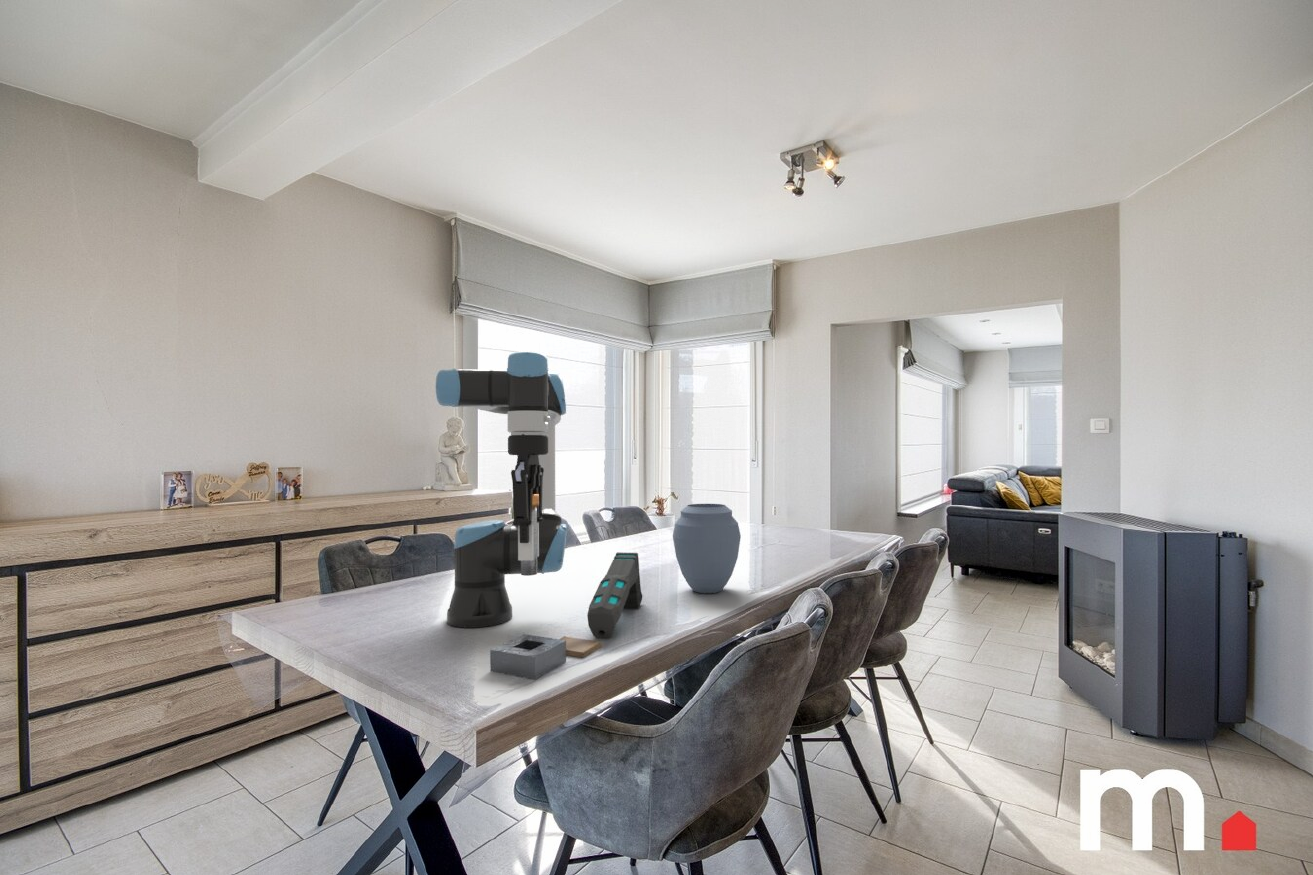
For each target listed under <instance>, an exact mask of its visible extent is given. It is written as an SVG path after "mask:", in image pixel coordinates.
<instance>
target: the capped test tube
mask: <svg viewBox="0 0 1313 875" xmlns="http://www.w3.org/2000/svg"><path fill="white" fill-rule="evenodd" d="M537 505H539V494H533V495H532V523H531V525H533V549H534V560H521V574H520V575H521V576H535V575H538V573H537Z"/></svg>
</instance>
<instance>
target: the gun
mask: <svg viewBox="0 0 1313 875" xmlns="http://www.w3.org/2000/svg"><path fill="white" fill-rule="evenodd" d="M642 600H643V593H642V588H641V577H640V559H639V553H638V552H616V553H615V555H614V557H613V559H612V562H611V563H610V566H609V568H608V570H607V572H606V574H605V576H604V577H603V578H602V579H601V581H600V582H599V584H598V587H597V589H596V591H595V593H594V595H593V596H592V599H591V602H590V603H589V607H588V611H587V614H586V615H587V617H586V618H587V623H588V628H589V630H590V632H591V633H592V636H593V637H594V638H596V639H611V638H612V637H613V635H614V632H615V629H616V626H617V624H618V622H619V620H620V618H621V615H622V613H623V610H624V609H627V610H628V609H629V610H639V609H640V607H641V604H642Z"/></svg>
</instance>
